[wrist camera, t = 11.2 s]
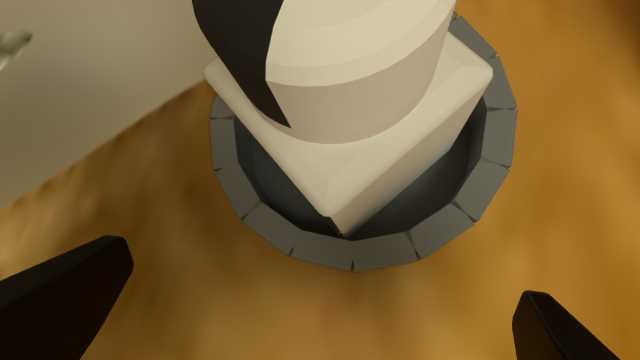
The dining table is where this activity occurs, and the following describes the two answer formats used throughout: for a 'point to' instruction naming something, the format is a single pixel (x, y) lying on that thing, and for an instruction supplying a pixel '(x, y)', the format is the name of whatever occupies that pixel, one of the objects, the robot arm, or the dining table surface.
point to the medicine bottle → (344, 92)
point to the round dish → (401, 212)
